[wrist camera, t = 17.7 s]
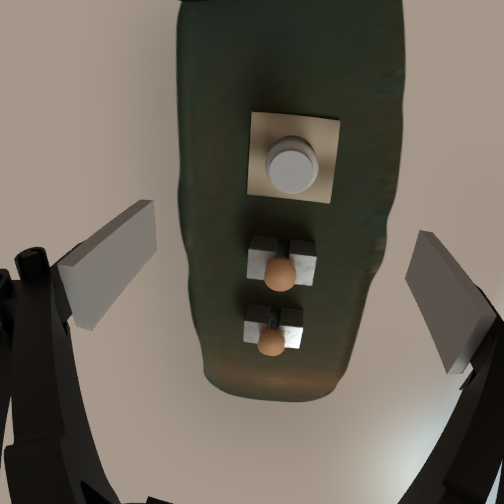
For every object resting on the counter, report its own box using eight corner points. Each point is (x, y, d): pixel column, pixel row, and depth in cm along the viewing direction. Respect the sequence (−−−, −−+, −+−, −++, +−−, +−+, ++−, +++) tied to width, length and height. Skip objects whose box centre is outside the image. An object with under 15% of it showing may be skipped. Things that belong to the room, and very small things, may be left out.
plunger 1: (269, 242, 38) (265, 262, 34) (298, 246, 38) (297, 266, 33) (267, 267, 40) (262, 289, 35) (294, 270, 40) (293, 292, 35)
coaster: (252, 111, 32) (251, 111, 32) (339, 120, 31) (340, 121, 31) (247, 193, 37) (247, 194, 37) (329, 202, 36) (329, 203, 36)
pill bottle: (315, 179, 35) (320, 202, 27) (270, 178, 35) (262, 201, 28) (315, 134, 32) (321, 144, 24) (269, 134, 33) (260, 143, 25)
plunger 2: (262, 312, 43) (258, 335, 39) (287, 315, 43) (285, 338, 39) (260, 330, 45) (256, 354, 41) (284, 333, 45) (282, 357, 40)
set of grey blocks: (253, 235, 39) (248, 249, 36) (315, 242, 39) (316, 256, 35) (247, 323, 46) (243, 341, 43) (299, 330, 46) (298, 348, 42)
